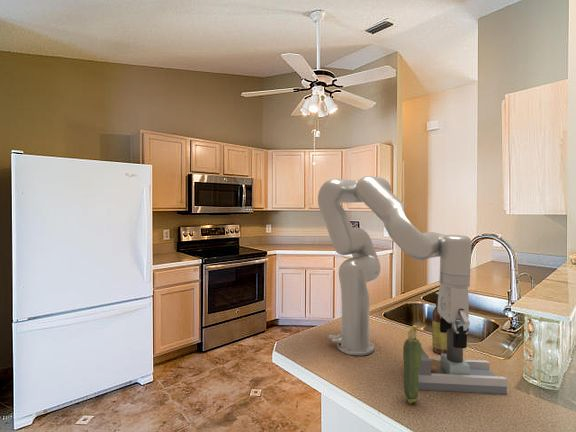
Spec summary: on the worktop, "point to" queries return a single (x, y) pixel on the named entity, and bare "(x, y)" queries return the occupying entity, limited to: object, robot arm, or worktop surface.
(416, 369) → the vegetable
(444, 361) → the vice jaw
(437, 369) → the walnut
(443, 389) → the vice bench
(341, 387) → the worktop surface
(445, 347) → the sauce bottle
